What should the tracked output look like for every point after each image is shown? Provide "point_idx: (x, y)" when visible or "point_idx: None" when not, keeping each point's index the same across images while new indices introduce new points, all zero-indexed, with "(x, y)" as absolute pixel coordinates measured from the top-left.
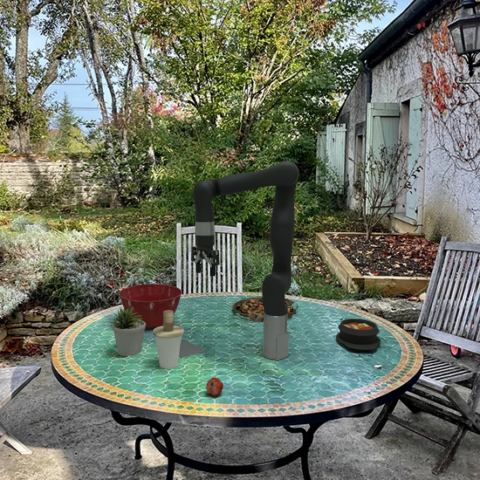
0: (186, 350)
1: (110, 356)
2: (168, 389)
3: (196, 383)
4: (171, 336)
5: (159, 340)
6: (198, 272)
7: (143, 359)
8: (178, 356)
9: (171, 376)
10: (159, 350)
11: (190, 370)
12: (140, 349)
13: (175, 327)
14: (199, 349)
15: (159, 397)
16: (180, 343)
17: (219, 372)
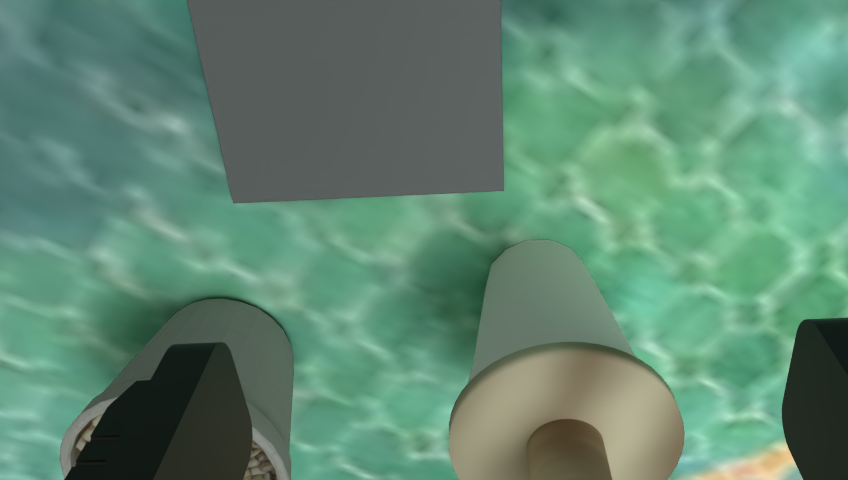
0: (411, 98)
1: None
2: (753, 391)
3: (816, 272)
4: (667, 469)
5: None
6: (242, 421)
7: (360, 333)
8: (591, 284)
9: (649, 323)
10: None
11: (663, 215)
12: (274, 333)
13: (544, 388)
14: (449, 9)
15: (781, 445)
16: (608, 324)
17: (824, 96)
